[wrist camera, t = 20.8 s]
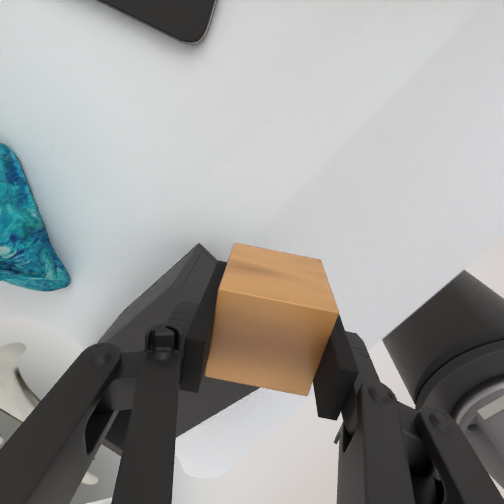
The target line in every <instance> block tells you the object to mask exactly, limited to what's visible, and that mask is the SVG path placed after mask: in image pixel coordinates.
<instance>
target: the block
mask: <svg viewBox="0 0 504 504" xmlns="http://www.w3.org/2000/svg"><path fill="white" fill-rule="evenodd" d="M338 315H339V310H338V307H337V305H336V302H335V299H334V296H333V293H332V290H331V288H330V285H329V282H328V279H327V276H326V273H325V270H324V268H323V265H322V262H321V260H319V259H314V258H309V257H304V256H299V255H294V254H289V253H284V252H279V251H274V250H269V249H264V248H259V247H254V246H249V245H244V244H239V243H234V245H233V248H232V251H231V254H230V257H229V260H228V263H227V266H226V268H225V271H224V274H223V277H222V280H221V283H220V286H219V289H218V294H217V301H216V307H215V316H214V322H213V329H212V335H211V341H210V347H209V354H208V360H207V364H206V371H205V376H206V377H211V378H216V379H221V380H226V381H231V382H236V383H242V384H247V385H252V386H257V387H262V388H267V389H272V390H277V391H283V392H288V393H293V394H298V395H303V396H307V395H308V393H309V390H310V388H311V385H312V382H313V379H314V376H315V374H316V371H317V368H318V366H319V363H320V361H321V358H322V355H323V353H324V350H325V348H326V345H327V342H328V340H329V337H330V335H331V333H332V330H333V328H334V325H335V322H336V320H337V317H338Z"/></svg>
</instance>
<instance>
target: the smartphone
mask: <svg viewBox="0 0 504 504" xmlns="http://www.w3.org/2000/svg"><path fill="white" fill-rule="evenodd" d="M97 1H99V2H101V3H103V4H105V5H107V6H109V7H111V8H113V9H115V10H117V11H119V12H121V13H123V14H125V15H127V16H129V17H131V18H133V19H135V20H137V21H140V22H142V23H144V24H146V25H148V26H150V27H152V28H154V29H156V30H158V31H160V32H162V33H164V34H166V35H168V36H170V37H172V38H174V39H176V40H178V41H180V42H183V43H186V44H197V43H200V42H201V41H202V40H203V38H204V37H205V35H206V33H207V31H208V28H209V26H210V22H211V19H212V15H213V12H214V8H215V5H216V2H217V0H97Z"/></svg>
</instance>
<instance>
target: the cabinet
mask: <svg viewBox="0 0 504 504" xmlns="http://www.w3.org/2000/svg"><path fill="white" fill-rule="evenodd" d="M217 262H218V261H217V260H216V259H215V258H214V257H213V256H212V255H211V254H210V253H209V252H208V251H207V250H206V249H205V248H204V247H203V246H202V245H201V244H200V243H199V244H198V245H196V246H195V247H194V248H193V249H192V250H191V251H190V252H189V253H188V254H186V255H185V256H184V257H183V258H182V259H181V260H180V261H179V262H178V263H176V264H175V265H174V266H173V267H172V268H171V269H170V270H169V271H168V272H166V273H165V274H164V275H163V276H162V277H161V278H160V279H159V280H158V281H156V282H155V283H154V284H153V285H152V286H151V287H150V288H149V289H148V290H146V291H145V292H144V293H143V294H142V295H141V296H140V297H139V298H138V299H136V300H135V301H134V302H133V303H132V304H131V305H130V306H129V307H127V308H126V309H125V310H124V311H123V312H122V313H121V315H120V316H119V317H118V318H117V320H116V321H115V322H114V323H113V324H112V326H111V327H110V328H109V329H108V330H107V332H106V333H105V334H104V335H103V336H102V338H101V339H100V340H99V341H98V343H112V344H115V345H117V346H118V347H119V348H120V350H121V352H135V351H140V350H144V349H145V333H146V331H147V330H148V329H149V328H150V327H151V326H153V325H156V324H158V323H166V321H167V320H168V318H169V316H170V314H171V313H172V311H173V309H174V307H175V305H176V304H178V303H179V302H181V301H182V300H187V301H192V302H197V303H200V302H201V299H202V297H203V295H204V292H205V290H206V288H207V285H208V283H209V281H210V278H211V276H212V274H213V271H214V269H215V267H216V264H217ZM98 343H97V344H98ZM206 364H207V363H206ZM205 371H206V367H205V370H204V374H203V377H202V381H201V384H200V388H199V391H198V393H193V392H188V391H183V390H179V392H178V408H177V424H176V437H178V436H179V435H181V434H183V433H185V432H186V431H188V430H190V429H191V428H193V427H195V426H196V425H198V424H200V423H201V422H203V421H205V420H206V419H208V418H210V417H211V416H213V415H215V414H217V413H218V412H220V411H222V410H223V409H225V408H227V407H228V406H230V405H232V404H233V403H235V402H237V401H238V400H240V399H242V398H243V397H245V396H247V395H249V394H250V393H252V392H254V391H255V390H257V389H259V388H260V387H257V386H252V385H247V384H242V383H236V382H231V381H226V380H221V379H216V378H211V377H206V376H205ZM179 389H180V385H179Z"/></svg>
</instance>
